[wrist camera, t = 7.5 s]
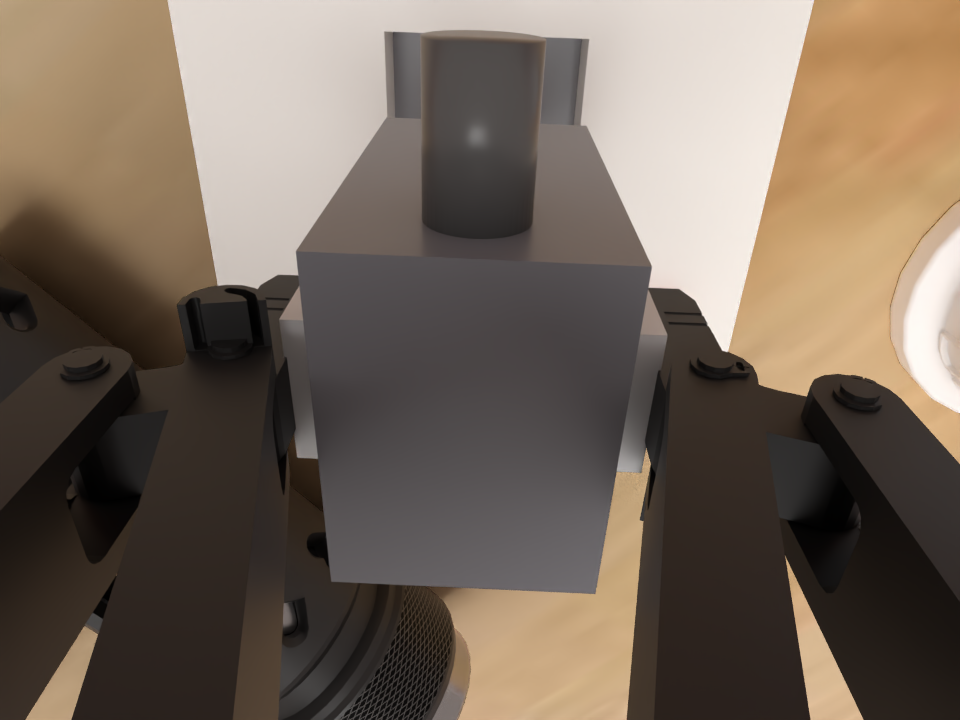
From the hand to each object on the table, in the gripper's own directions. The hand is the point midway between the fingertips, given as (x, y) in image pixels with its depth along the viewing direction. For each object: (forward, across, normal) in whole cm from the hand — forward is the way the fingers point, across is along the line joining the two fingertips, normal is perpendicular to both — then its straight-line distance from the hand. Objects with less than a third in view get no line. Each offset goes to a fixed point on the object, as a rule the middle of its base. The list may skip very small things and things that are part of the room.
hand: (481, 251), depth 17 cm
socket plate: (+11, 0, 0) cm, 11 cm away
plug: (0, 0, -1) cm, 1 cm away
